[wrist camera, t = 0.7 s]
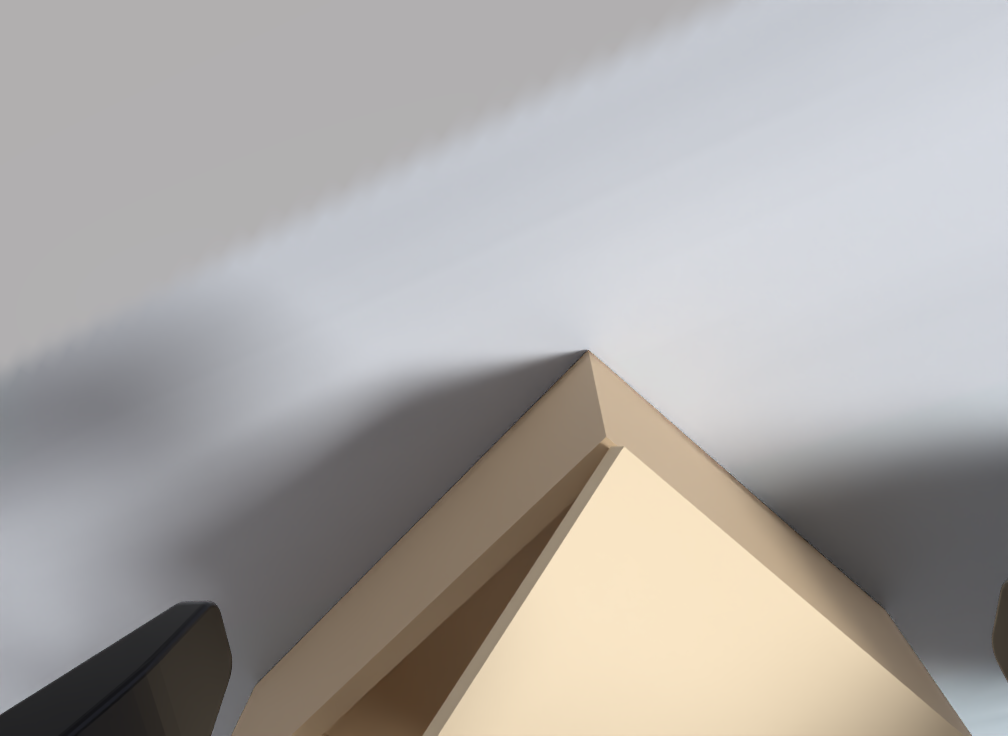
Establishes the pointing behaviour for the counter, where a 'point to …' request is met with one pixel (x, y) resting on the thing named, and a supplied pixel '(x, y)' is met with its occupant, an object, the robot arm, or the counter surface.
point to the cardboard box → (528, 569)
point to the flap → (667, 637)
